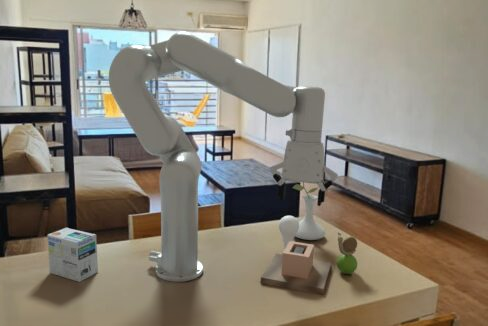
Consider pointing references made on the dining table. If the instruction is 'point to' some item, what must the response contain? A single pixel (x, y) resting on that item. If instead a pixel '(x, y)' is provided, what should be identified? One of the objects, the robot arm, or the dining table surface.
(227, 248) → the dining table surface
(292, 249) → the tan rectangular frame
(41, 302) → the dining table surface
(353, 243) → the snail figurine
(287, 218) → the lightbulb
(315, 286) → the hub plate
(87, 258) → the light bulb box
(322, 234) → the flower in vase
